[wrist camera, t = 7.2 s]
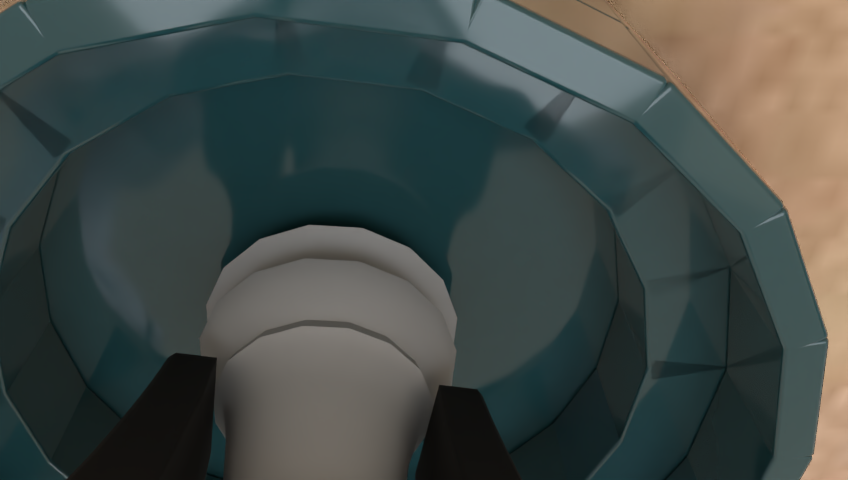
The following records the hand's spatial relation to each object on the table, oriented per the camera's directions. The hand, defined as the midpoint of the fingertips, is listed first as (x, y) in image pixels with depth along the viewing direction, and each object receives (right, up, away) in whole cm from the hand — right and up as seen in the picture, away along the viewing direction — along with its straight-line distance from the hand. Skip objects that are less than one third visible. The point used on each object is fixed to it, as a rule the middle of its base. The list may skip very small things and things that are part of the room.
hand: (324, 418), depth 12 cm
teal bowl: (0, +2, +3) cm, 3 cm away
